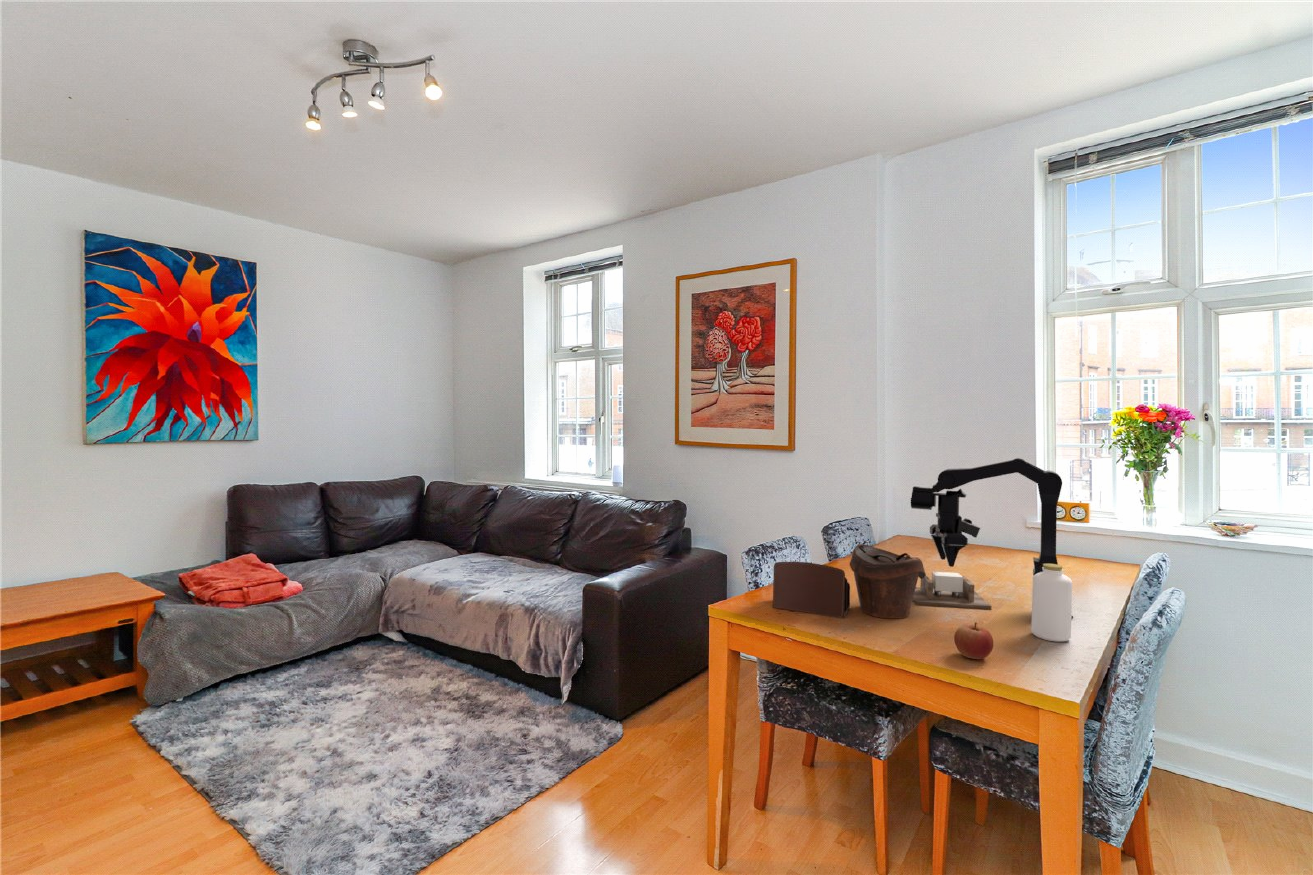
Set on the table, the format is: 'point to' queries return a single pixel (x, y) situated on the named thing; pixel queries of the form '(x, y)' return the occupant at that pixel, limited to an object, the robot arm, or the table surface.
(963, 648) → the apple
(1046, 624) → the potion bottle
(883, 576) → the brown lidded bucket
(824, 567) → the letter holder
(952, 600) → the rack
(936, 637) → the table surface
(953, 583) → the white rectangular block
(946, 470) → the robot arm
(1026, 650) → the table surface
